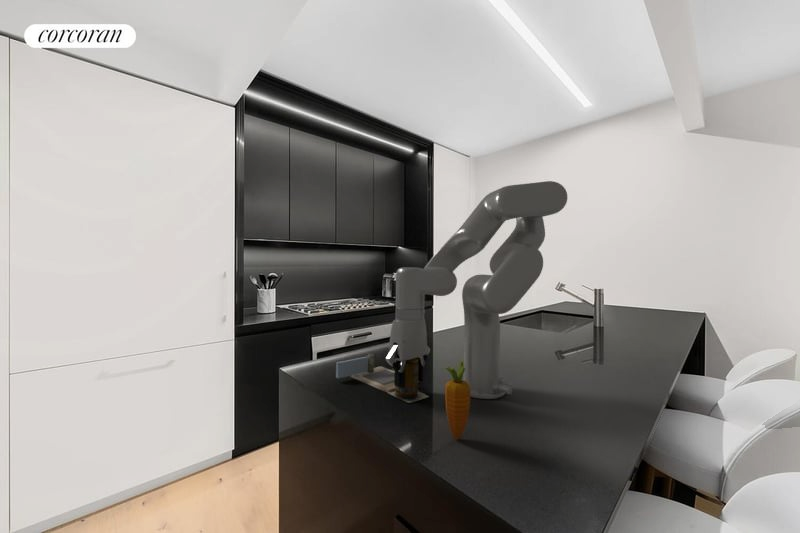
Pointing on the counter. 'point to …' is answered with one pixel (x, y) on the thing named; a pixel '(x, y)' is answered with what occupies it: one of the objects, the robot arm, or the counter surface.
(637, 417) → the counter surface
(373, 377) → the gate frame
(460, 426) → the carrot
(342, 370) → the panel
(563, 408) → the counter surface
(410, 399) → the condiment
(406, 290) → the robot arm
